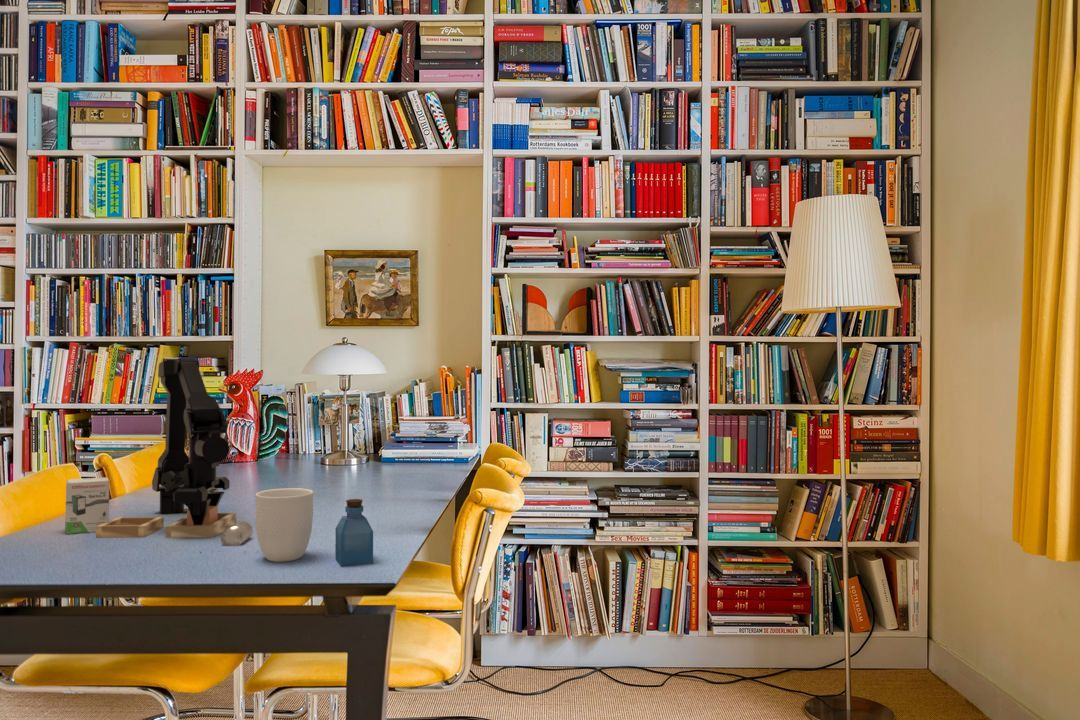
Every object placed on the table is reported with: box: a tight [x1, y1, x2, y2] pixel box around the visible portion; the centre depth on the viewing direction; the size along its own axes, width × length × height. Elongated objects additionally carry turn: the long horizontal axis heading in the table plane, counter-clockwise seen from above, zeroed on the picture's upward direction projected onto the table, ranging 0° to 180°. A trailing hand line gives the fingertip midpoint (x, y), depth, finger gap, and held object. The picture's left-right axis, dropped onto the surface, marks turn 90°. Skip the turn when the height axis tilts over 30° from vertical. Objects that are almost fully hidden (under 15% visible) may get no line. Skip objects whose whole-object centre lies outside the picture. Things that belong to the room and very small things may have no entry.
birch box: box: [164, 512, 237, 539], centre depth 179 cm, size 15×10×3 cm
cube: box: [186, 505, 219, 525], centre depth 179 cm, size 5×5×5 cm
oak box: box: [95, 516, 165, 539], centre depth 176 cm, size 10×10×3 cm
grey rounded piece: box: [220, 520, 254, 547], centre depth 168 cm, size 7×4×4 cm
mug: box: [254, 487, 314, 563], centre depth 158 cm, size 15×11×13 cm
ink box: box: [64, 476, 110, 535], centre depth 181 cm, size 9×5×12 cm, turn 123°
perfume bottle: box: [334, 498, 374, 567], centre depth 155 cm, size 6×6×12 cm
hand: (202, 526), depth 179 cm, fingers closed on cube, 5 cm apart
